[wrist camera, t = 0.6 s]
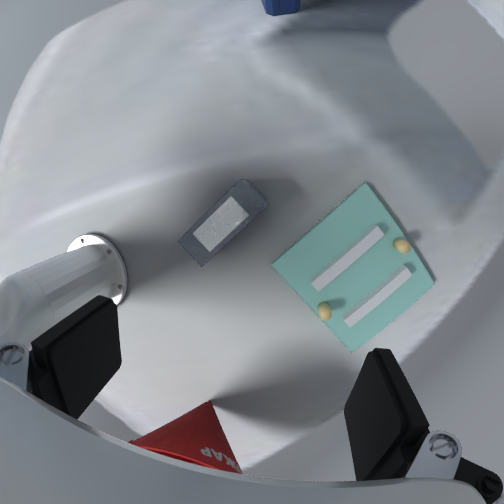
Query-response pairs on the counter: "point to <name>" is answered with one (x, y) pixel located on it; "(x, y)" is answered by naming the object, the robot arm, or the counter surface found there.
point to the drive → (223, 221)
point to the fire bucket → (193, 440)
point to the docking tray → (355, 269)
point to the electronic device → (280, 6)
